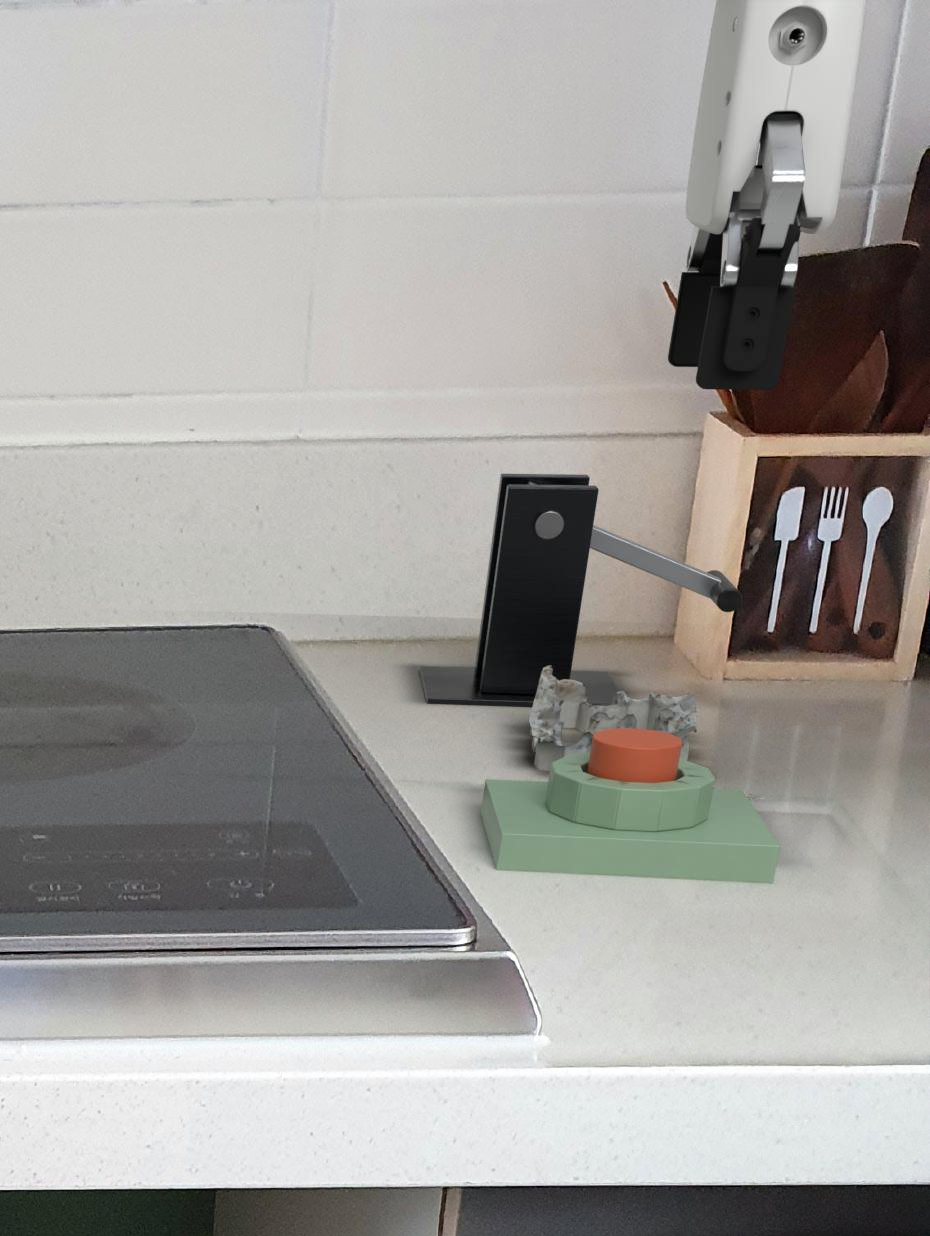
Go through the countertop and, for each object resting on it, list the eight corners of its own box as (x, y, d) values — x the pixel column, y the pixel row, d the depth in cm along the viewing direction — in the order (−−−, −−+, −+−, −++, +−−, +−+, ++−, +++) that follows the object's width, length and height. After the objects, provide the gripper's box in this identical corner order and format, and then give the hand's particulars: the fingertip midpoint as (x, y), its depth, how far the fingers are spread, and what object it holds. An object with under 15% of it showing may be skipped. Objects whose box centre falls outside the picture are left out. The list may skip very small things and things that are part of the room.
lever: (710, 606, 122) (735, 564, 120) (727, 627, 117) (753, 583, 116) (503, 519, 122) (525, 476, 121) (511, 536, 117) (535, 491, 116)
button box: (735, 826, 102) (749, 749, 101) (772, 885, 94) (789, 803, 93) (480, 815, 105) (490, 740, 103) (496, 872, 97) (507, 791, 95)
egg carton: (527, 742, 117) (539, 661, 115) (684, 752, 114) (699, 670, 113) (516, 793, 108) (529, 706, 106) (686, 805, 105) (702, 717, 104)
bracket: (604, 693, 126) (640, 471, 121) (623, 727, 119) (661, 493, 114) (417, 687, 128) (444, 468, 123) (425, 720, 121) (453, 490, 116)
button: (668, 769, 99) (675, 729, 99) (681, 790, 96) (688, 749, 95) (582, 765, 100) (588, 726, 99) (591, 787, 97) (598, 746, 96)
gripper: (945, -89, 84) (848, 400, 92) (855, -58, 99) (778, 359, 107) (728, -81, 86) (651, 397, 93) (672, -53, 101) (609, 358, 108)
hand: (719, 377), depth 100 cm, fingers open, 9 cm apart
